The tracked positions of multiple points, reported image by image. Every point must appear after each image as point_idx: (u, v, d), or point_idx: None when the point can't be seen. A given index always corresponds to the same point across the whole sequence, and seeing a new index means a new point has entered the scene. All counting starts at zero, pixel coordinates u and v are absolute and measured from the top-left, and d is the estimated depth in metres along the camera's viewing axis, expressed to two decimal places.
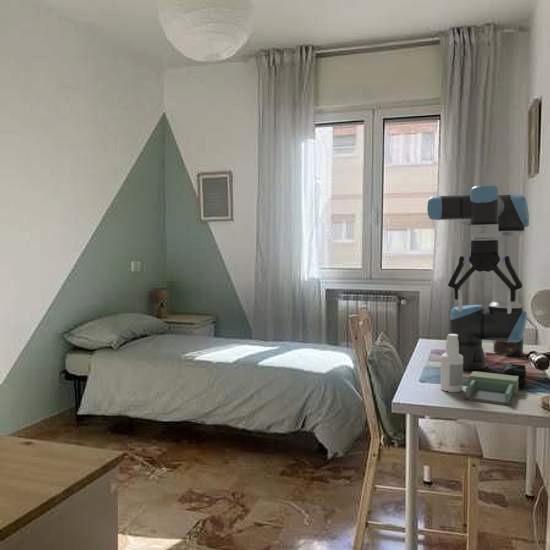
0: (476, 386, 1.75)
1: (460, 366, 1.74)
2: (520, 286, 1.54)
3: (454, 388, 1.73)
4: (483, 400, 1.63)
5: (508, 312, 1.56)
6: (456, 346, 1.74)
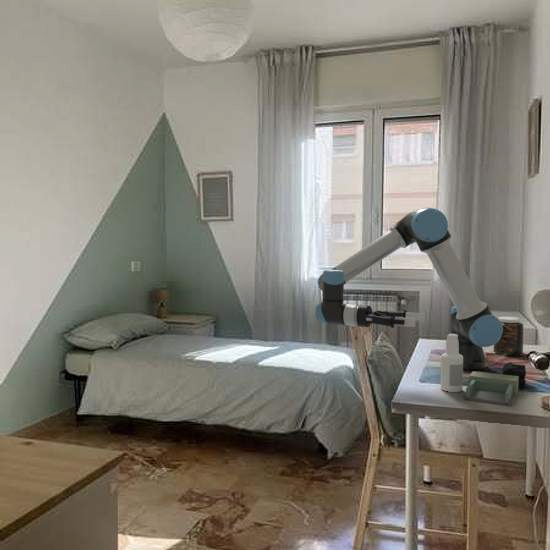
0: (476, 386, 1.75)
1: (460, 366, 1.74)
2: (388, 325, 1.76)
3: (454, 388, 1.73)
4: (483, 400, 1.63)
5: None
6: (456, 346, 1.74)
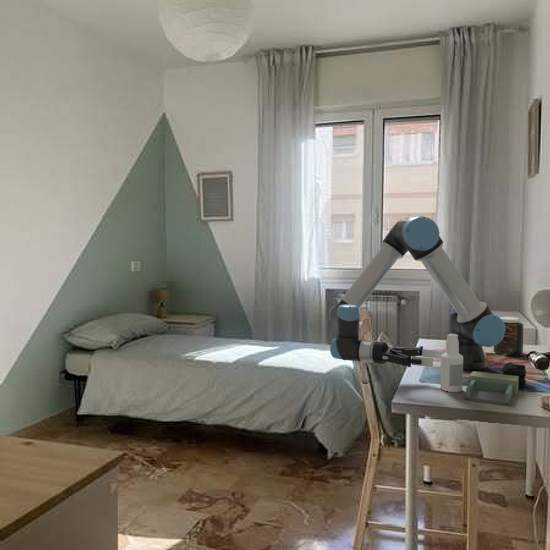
0: (476, 386, 1.75)
1: (460, 366, 1.74)
2: (405, 365, 1.73)
3: (454, 388, 1.73)
4: (483, 400, 1.63)
5: None
6: (456, 346, 1.74)
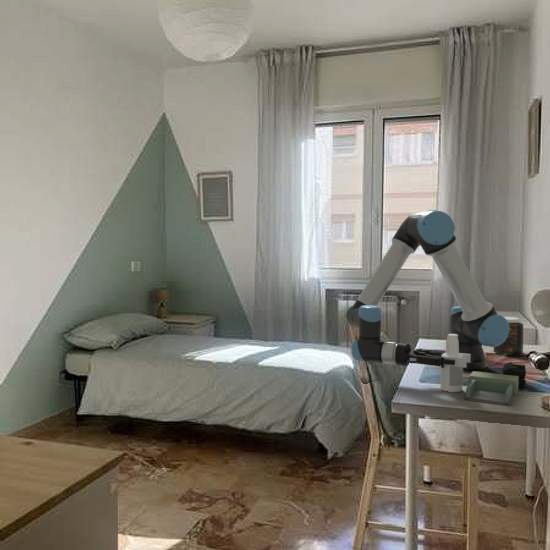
0: (476, 386, 1.75)
1: None
2: (438, 366, 1.72)
3: (454, 388, 1.73)
4: (483, 400, 1.63)
5: None
6: (456, 346, 1.74)
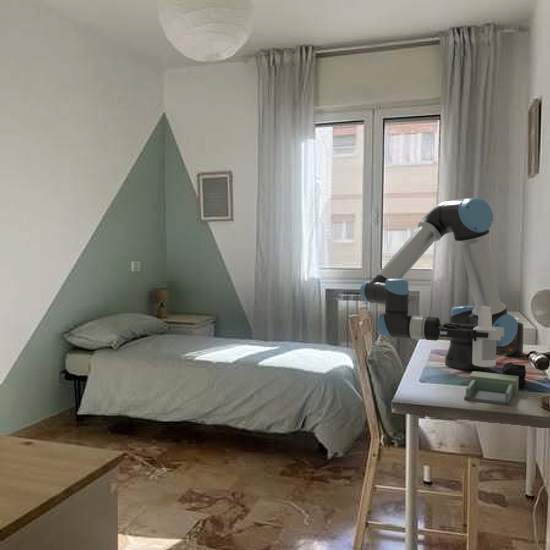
0: (476, 386, 1.75)
1: None
2: (471, 339, 1.64)
3: (487, 363, 1.65)
4: (483, 400, 1.63)
5: None
6: (489, 318, 1.66)
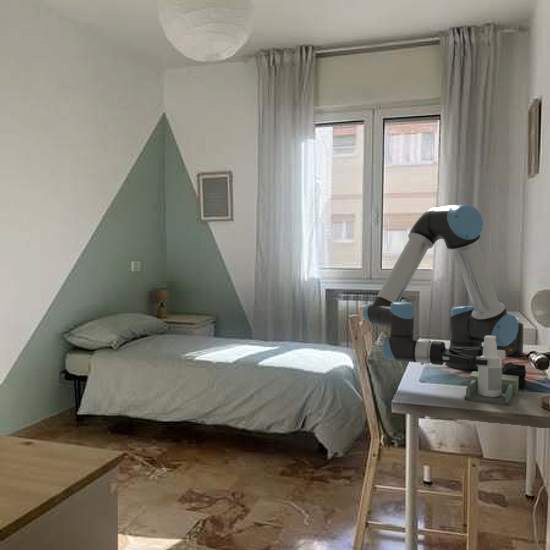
0: (476, 386, 1.75)
1: (499, 369, 1.65)
2: (470, 366, 1.62)
3: (493, 393, 1.65)
4: (483, 400, 1.63)
5: None
6: (494, 348, 1.66)
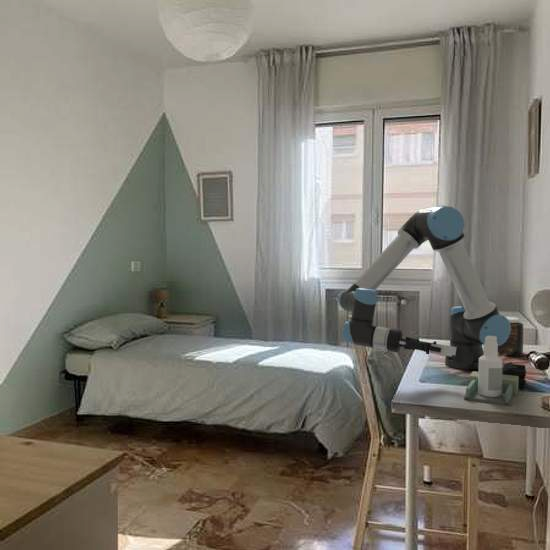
0: (476, 386, 1.75)
1: (499, 370, 1.65)
2: (424, 351, 1.69)
3: (493, 393, 1.65)
4: (483, 400, 1.63)
5: (450, 356, 1.69)
6: (495, 348, 1.66)
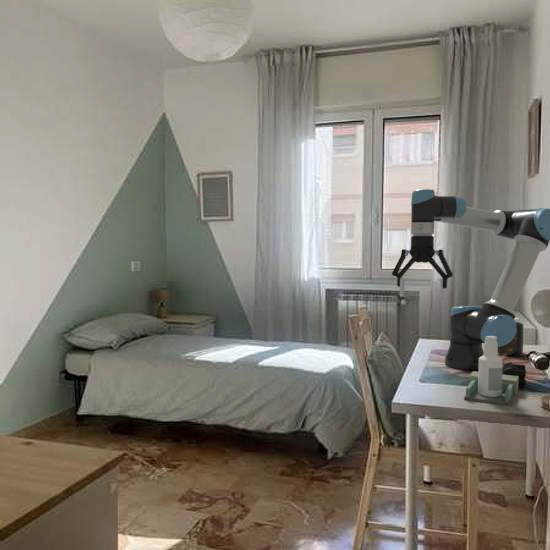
0: (476, 386, 1.75)
1: (499, 370, 1.65)
2: (450, 275, 1.82)
3: (493, 393, 1.65)
4: (483, 400, 1.63)
5: (440, 297, 1.83)
6: (495, 348, 1.66)
